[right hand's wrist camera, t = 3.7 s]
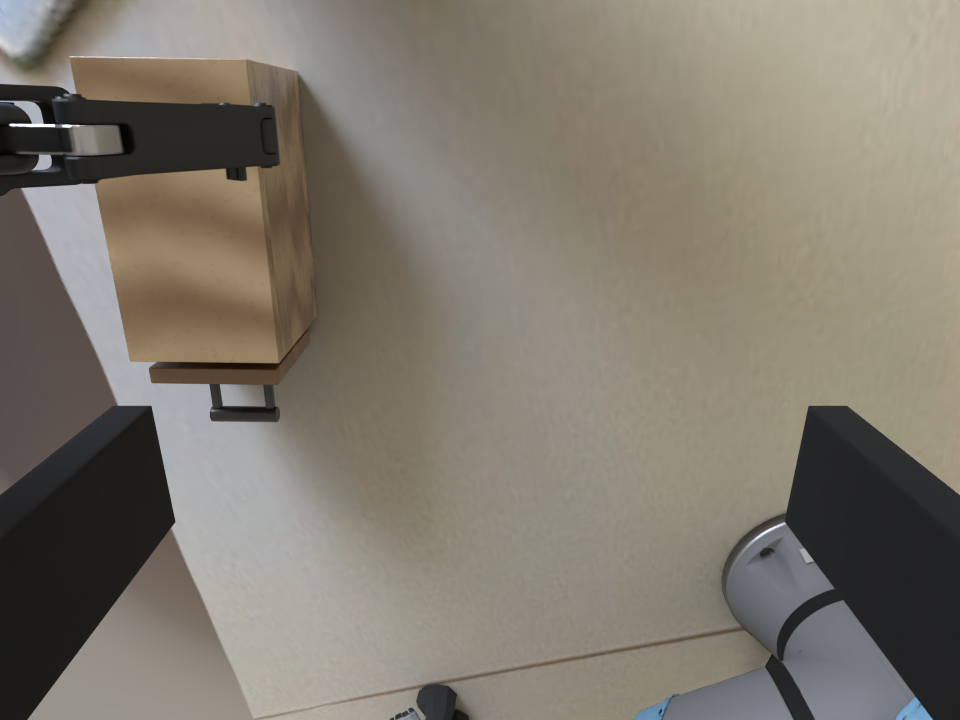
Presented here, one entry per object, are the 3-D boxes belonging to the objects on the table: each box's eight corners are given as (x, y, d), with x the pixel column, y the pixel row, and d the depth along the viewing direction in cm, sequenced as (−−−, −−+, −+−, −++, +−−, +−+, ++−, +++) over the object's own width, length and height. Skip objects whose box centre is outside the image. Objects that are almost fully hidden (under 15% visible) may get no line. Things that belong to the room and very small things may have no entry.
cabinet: (317, 315, 54) (279, 363, 44) (197, 314, 54) (129, 361, 44) (297, 71, 47) (246, 58, 37) (159, 69, 47) (68, 56, 37)
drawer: (314, 399, 56) (285, 450, 48) (211, 398, 56) (163, 448, 48) (290, 120, 48) (249, 122, 39) (168, 118, 48) (100, 119, 39)
